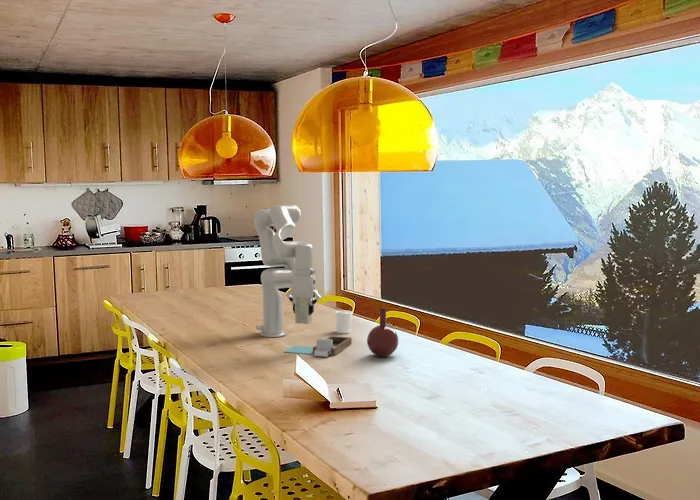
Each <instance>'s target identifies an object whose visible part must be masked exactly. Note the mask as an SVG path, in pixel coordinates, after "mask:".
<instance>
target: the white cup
mask: <svg viewBox="0 0 700 500" xmlns="http://www.w3.org/2000/svg"><path fill="white" fill-rule="evenodd" d="M352 317H353V311H352V310H347V309H346V310H337V311H335V323H336V325H335V326H336V332H337V333H338V334H342V335H343V334H351V333H352V323H353V322H352V321H353V319H352Z"/></svg>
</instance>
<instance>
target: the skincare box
mask: <svg viewBox="0 0 700 500" xmlns="http://www.w3.org/2000/svg"><path fill="white" fill-rule="evenodd" d="M309 305H310V303H309V299H308V296H295V313H294V321H295V324H301V325H302V324H303V325H309V324H311V323H312V322H313V321H312V314H311V315H309Z"/></svg>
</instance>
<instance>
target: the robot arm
mask: <svg viewBox="0 0 700 500" xmlns="http://www.w3.org/2000/svg"><path fill="white" fill-rule="evenodd" d="M301 214H302V213H301V209H300V208H299V207H298V206H297V205H295V204H277V205H274V206H272V207H269V208H268V207H267V208H262V209H257V210H256V211H255V213H254V214H253V215H254V216H253V222H254V228H255V230H256V233H257V235H258V238H259V239H258V240H259V248H260V255H261V260H262V263H263V265H265V266H266V267H267V266H268V267H273V268H267V269H265V270H263V271H262V272H261V274H260V282H261V289H262V309H263V310H262V315H263V316H262V321H263V324H256V325H255V329H256V330H257V331H259V330H260V333H259V335H260V336H261V337H265V338H279V337H280V338H281V337H284V336H286V335H287V334H288V332H287V331H286V330H284V296H283V294H282V293H281V292H280V291H279V290H280V289H287V288H289V289H290V290H289V291H288V292H287V293H286V294H285V296H286V297H287V299H288V300H289V301H290V302H291V304H292V311H293V314H295V296H308V299H309V303H310V305H309V315H311V316H312V314H314V312H315V310H314V309H315V306H314V305H315V304H316V303H318V301H319V300H320V299H322V296H321V295H320V294H319V292H318V291H317V285H316V278H315V275H314V274H316V270H315V269H314V268H313V260H314V259H313V255H314V254H313V253H314V252H313V251H314V249H313V245H312V244H311V243H308V242H307V241H306V240H287V241H284V240H286V239H287V238H289V237H291V236H293V235H294V233H295V232H296V224H297V223H299V222H300V221H301V219H302V215H301ZM271 227H274V229H275V231H274V229H273V228H271ZM276 266H279V267H276ZM280 266H283V267H280ZM274 267H275V268H274ZM314 298H315V299H314Z"/></svg>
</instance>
